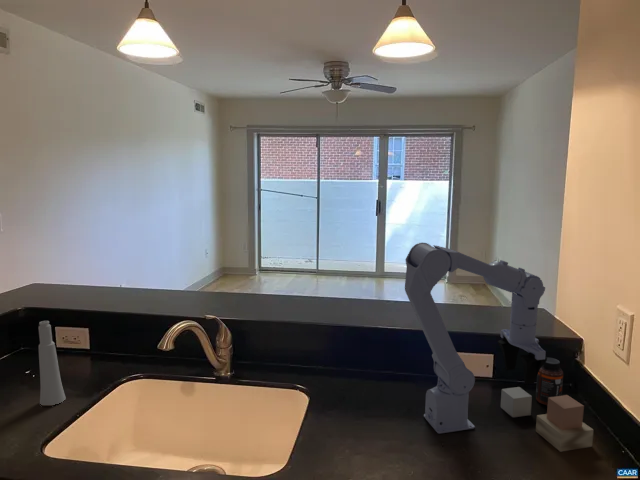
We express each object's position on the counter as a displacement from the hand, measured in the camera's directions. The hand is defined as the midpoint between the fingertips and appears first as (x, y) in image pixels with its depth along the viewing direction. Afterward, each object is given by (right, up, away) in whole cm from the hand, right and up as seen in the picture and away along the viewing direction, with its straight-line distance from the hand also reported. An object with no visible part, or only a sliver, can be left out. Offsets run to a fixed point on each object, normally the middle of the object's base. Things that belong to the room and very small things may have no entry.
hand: (519, 376), depth 114 cm
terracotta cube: (+6, -8, -9) cm, 13 cm away
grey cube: (+1, -10, +4) cm, 11 cm away
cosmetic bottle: (-119, -10, +11) cm, 120 cm away
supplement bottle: (+11, -9, +8) cm, 16 cm away
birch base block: (+6, -12, -8) cm, 16 cm away
